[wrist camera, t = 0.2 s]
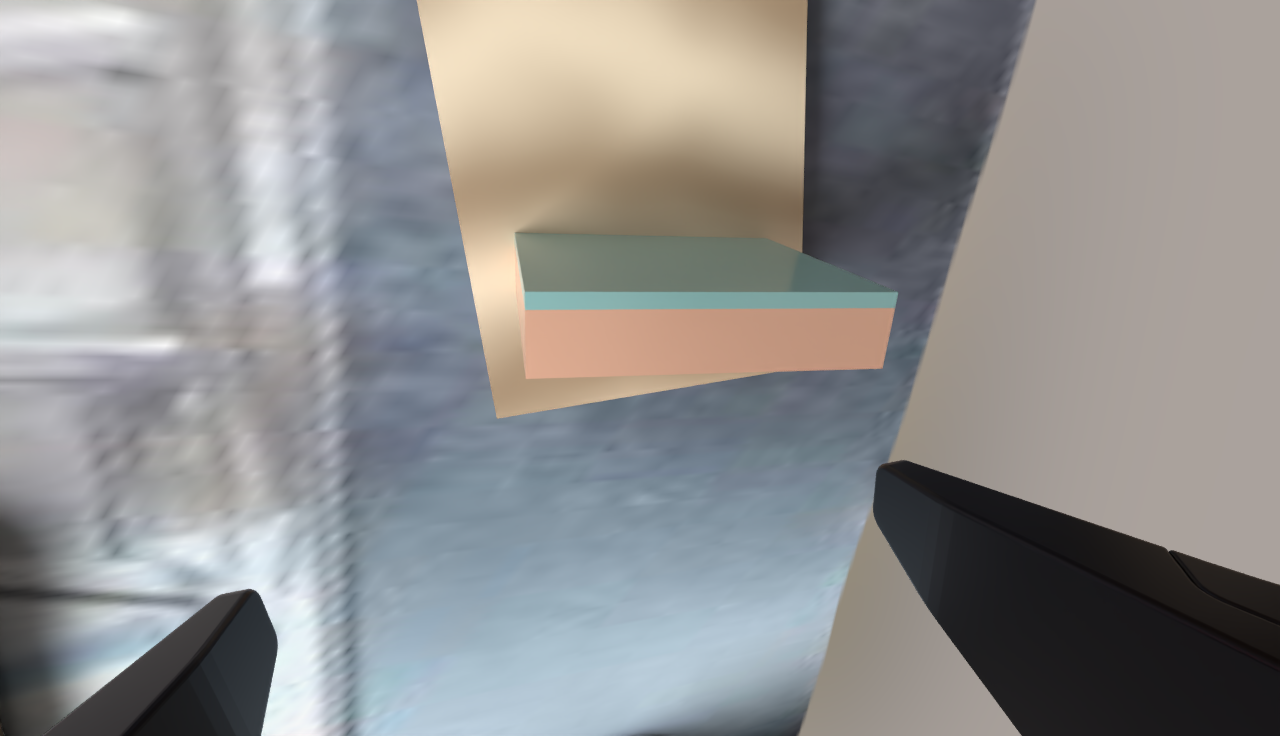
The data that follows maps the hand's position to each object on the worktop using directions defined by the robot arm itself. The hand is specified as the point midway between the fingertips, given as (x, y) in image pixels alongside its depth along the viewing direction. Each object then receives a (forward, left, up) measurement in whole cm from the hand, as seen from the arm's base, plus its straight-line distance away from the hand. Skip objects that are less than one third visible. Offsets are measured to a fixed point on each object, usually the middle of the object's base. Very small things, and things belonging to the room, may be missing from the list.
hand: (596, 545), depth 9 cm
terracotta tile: (+1, -4, -14) cm, 14 cm away
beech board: (+3, -4, -15) cm, 16 cm away
